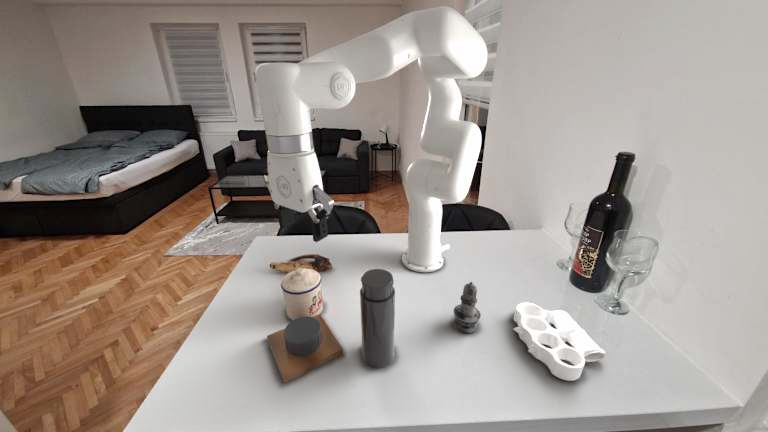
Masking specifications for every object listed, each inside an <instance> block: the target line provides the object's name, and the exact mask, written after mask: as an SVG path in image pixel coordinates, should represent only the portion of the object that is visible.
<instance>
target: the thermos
mask: <svg viewBox="0 0 768 432" xmlns="http://www.w3.org/2000/svg"><path fill="white" fill-rule="evenodd" d="M360 283H361V288H360V290H359V303H360V304H359V305H360V327H361V329H360V330H361V349H362V360H363V362H364V363H365V364H366V365H367V366H369V367H370V368H373V369H383V368H385V367H388V366H389V365H390V364H392V362H393V360H394V358H395V318H396V317H395V315H396V314H395V313H396V312H395V310H396V307H395V306H396V290H395V287H394V277H393V274H392V272H390V271H389V270H387V269H383V268H373V269H368V270H367V271H365V272H364V273H363V274H362V275H361V277H360Z"/></svg>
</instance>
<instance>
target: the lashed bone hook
mask: <svg viewBox="0 0 768 432" xmlns="http://www.w3.org/2000/svg"><path fill="white" fill-rule="evenodd" d="M305 259H306V260H307V259H309V260H311V261H300V260H305ZM269 268H270V269H271V270H276V271H277V272H282V273H283V272H285V273H290V272H292V271H294V270H297V269H298V268H303V269H312V270H315V271H317V272H322V271H328V270H332V269H333V263H332V262H331V261H330V258H328V257H325V256H324V255H323V256H322V255H320V254H317V253H307V254H302V255H299V256H296V257H294V258H292V259H290V261H272V262H270V263H269Z"/></svg>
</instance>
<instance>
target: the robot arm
mask: <svg viewBox="0 0 768 432" xmlns="http://www.w3.org/2000/svg"><path fill="white" fill-rule="evenodd" d="M416 60H417V61H418V67H419V70H420V73H421V74H422V76H423V78H424V81H425V83H426V87H427V90H428V103H427V108H426V112H425V117H424V122H423V124H422V125H423V126H422V130H421V135H420V148H421V150H422V151H423V152H424V153H427V154H429V155H432V156H436V157H441V158H445V159H450V163H447V162H443V161H439V160H433V159H430V158H420V159H416V160H414V161H413V162H411V164H409V166H408V168H407V170H406V173H405V174H406V175H405V180H406V181H405V182H406V188H407V193H408V221H407V223H408V224H407V225H408V226H407V250H406V251H405V252H404V253H403V254H402V255H401V256H402V257H401V262H402V264H403V265H404V267H406V268H407V269H409V270H411V271H413V272H417V273H432V272H436V271H438V270H440V269H441V268H442V267H443V265H444V257H443V255H442V254H443V253H444V252H446V251H449V250H450V249H451V246H450V243H445V244H442V243H441V232H442V231H441V230H442V220H443V204H442V201H443V202H447V203H450V204H458V203H460V202H462V201H463V200H464V199H465V198H466V197H467V195H468V193H469V190H470V187H471V185H472V181H473V177H474V173H475V170H476V166H477V163H478V159H479V155H480V152H481V147H482V132H481V129H480V127H479V126H478V125H477V124H476V123H475V122H472V121H468V120H460V114H461V109H462V104H463V100H462V99H463V97H462V93H461V90H460V88H459V86H458V84H457V82H456V80H457V79H459V80H461V79H464V80H465V79H467V80H469V79H473V78H476V77H478V76H479V75H481V73H482V72H483V71H484V69H485V68H486V65H487V62H488V47H487V43H486V42H485V40H484V38H483V37H482V36H481V34H480V32H478V31H477V30H476V29H475V28H474V26H473V25H472V24H471V23H470V22H469V21H468V20H467V19H466V18H465V17H464V16H463V15H462V14H461V13H459V11H457V10H456V9H454V8H452V7H450V6H447V5H441V6H436V7H430V8H424V9H419V10H413V11H411V12H408V13H406V14H403V15H402V16H399V17H397V18H395V19H393V20H391V21H389V22H388V23H386V24H383V25H381V26H379V27H377V28H375V29H373V30H371V31H369V32H366V33H364V34H360V35H359V36H356V37H354V38H350V39H349V40H347V41H344V42H341V43H340V44H336V45H335V46H331V47H329V48H327V49H325V50H324V49H323V50H322V51H320V52H317V53H316V54H313V55H311V56H309V57H307V58H304V59H302V60H301V61H299V62H297V63H295V62H265V63H260V64H259V65H257V66H256V68H255V83H256V87H257V93H258V97H259V105H260V109H261V114H262V121H263V126H264V130H265V131H264V132H265V137H266V145H267V157H266V158H267V161H266V163H267V164H266V165H267V177H268V183H267V184H266V187H267V189H268V191H269V193H270V198H271V200H272V202H273V203H274V204H273V205H274V208H275V210H276V212H277V218H278V223H279V227H280V229H285V228H287V227H290V226H291V225H294V224H295V216H294V211H296V212H298V213H302V214H303V213H308V215H309V217H310V218H311V220H312V221H311V222H310V227H311V233H312V240H313V242H314V243H319V241H322V240H323V239H325V238H327V237H328V236H329V231H328V222H327V219H328V218H329V217H330V216H331V214H332V212H333V208H334V205H335V200H334V199H333V198H332V197H330V196H329V194H328V193H326V191H324V185H323V179H322V174H321V173H322V172H321V169H320V165H319V161H318V157H317V154H316V151H315V146H314V139H313V129H312V120H311V119H312V118H311V111H310V110H312V109H313V110H317V109H319V110H330V111H333V110H340V109H342V108H345V107H346V106H347V105H349V104H350V103H351V101H352V100H353V98H354V97H355V94H356V84H361V83H368V82H369V83H370V82H376V81H378V80H382V79H385V78H389V77H390V76H392V75H394V74H395V73H396V72H398V71H400V70H402V69H404V67H406V66H408V65H410V64H411V63H413V62H415V61H416ZM455 79H456V80H455ZM316 209H317V210H318V213H317V212H316V211H315V210H316Z"/></svg>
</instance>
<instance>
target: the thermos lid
mask: <svg viewBox="0 0 768 432" xmlns="http://www.w3.org/2000/svg"><path fill="white" fill-rule="evenodd" d="M284 329H285V330H284V338H285V343H286V348H287V351H288V352H289V353H290V354H292V355H294V356H306V355H309V354H311V353H313V352H315V351H316V350H317V349H318V348H319V346H320V345H321V342H322V331H321V325H320V323H319V321H318V320H317V319H315V318H313V317H300V318H297V319H295V320H291V321H290V322H289V323H288V324H287V325H286V326H285V328H284Z"/></svg>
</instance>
